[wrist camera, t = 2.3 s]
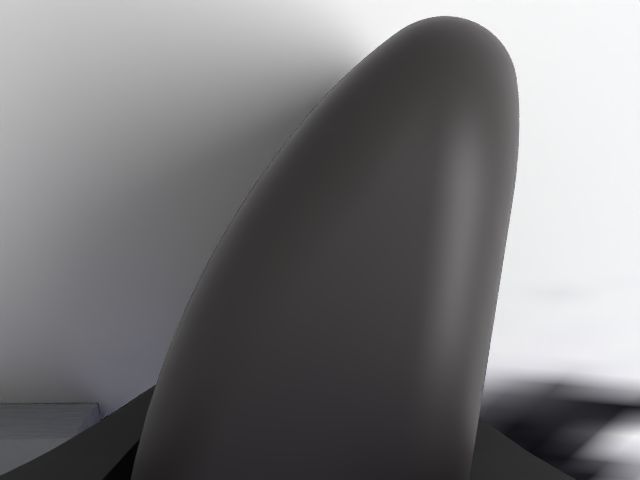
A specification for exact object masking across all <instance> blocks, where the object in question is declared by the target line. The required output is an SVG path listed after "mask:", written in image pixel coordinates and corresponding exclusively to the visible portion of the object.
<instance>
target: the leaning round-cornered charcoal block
mask: <svg viewBox="0 0 640 480" xmlns="http://www.w3.org/2000/svg"><path fill="white" fill-rule="evenodd" d="M518 146H519V98H518V87H517V78H516V73H515V69H514V65H513V63H512V60H511V58H510V56H509V54H508V52H507V50H506V49H505V47H504V46H503V44H502V43H501V42H500V41H499V40H498V39H497V37H496V36H494V35H493V34H492V33H491V32H490V31H489V30H487V29H486V28H484V27H483V26H481V25H479V24H477V23H475V22H472V21H470V20H467V19H463V18H459V17H451V16H440V17H432V18H427V19H423V20H420V21H417V22H415V23H413V24H410V25H408V26H407V27H405V28H403V29H402V30H400V31H399V32H397V33H396V34H394V35H393V36H392V37H390V38H389V39H388V40H386V41H385V42H384V43H383V44H381V45H380V46H379V47H378V48H376V49H375V50H374V51H373V52H371V53H370V54H369V55H368V56H367V57H366V58H364V59H363V60H362V61H361V62H360V63H359V64H358V65H357V66H355V67H354V68H353V69H352V70H351V71H350V72H349V73H348V74H347V75H346V76H345V77H344V78H343V79H342V80H341V81H340V82H339V83H338V84H337V85H336V86H335V87H334V88H333V89H332V90H331V91H330V92H329V93H328V94H327V95H326V96H325V97H324V98H323V99H322V100H321V101H320V102H319V103H318V105H317V106H316V107H315V108H314V109H313V110H312V111H311V112H310V114H309V115H308V116H307V117H306V118H305V119H304V120H303V122H302V123H301V124H300V125H299V127H298V128H297V129H296V130H295V131H294V133H293V134H292V135H291V136H290V138H289V139H288V140H287V141H286V143H285V144H284V145H283V147H282V148H281V149H280V151H279V152H278V153H277V155H276V156H275V157H274V159H273V160H272V161H271V163H270V164H269V166H268V167H267V168H266V170H265V171H264V172H263V174H262V175H261V176H260V178H259V179H258V181H257V182H256V184H255V185H254V187H253V188H252V190H251V192H250V193H249V195H248V196H247V198H246V199H245V201H244V202H243V204H242V205H241V207H240V208H239V210H238V212H237V213H236V215H235V216H234V218H233V219H232V221H231V223H230V225H229V226H228V228H227V230H226V232H225V233H224V235H223V237H222V239H221V240H220V242H219V244H218V246H217V247H216V249H215V251H214V253H213V254H212V256H211V258H210V260H209V262H208V264H207V266H206V268H205V270H204V272H203V274H202V276H201V278H200V280H199V282H198V284H197V286H196V288H195V290H194V292H193V294H192V296H191V298H190V300H189V302H188V304H187V306H186V309H185V311H184V314H183V316H182V318H181V321H180V323H179V326H178V328H177V330H176V333H175V335H174V337H173V340H172V342H171V345H170V347H169V349H168V352H167V355H166V357H165V360H164V363H163V366H162V369H161V372H160V375H159V378H158V381H157V384H156V387H155V390H154V393H153V396H152V399H151V402H150V405H149V408H148V411H147V415H146V419H145V423H144V427H143V431H142V435H141V438H140V442H139V446H138V450H137V454H136V458H135V462H134V466H133V471H132V476H131V480H469V478H470V471H471V465H472V458H473V452H474V446H475V439H476V433H477V426H478V420H479V413H480V407H481V401H482V394H483V388H484V381H485V375H486V368H487V362H488V356H489V349H490V343H491V336H492V330H493V323H494V317H495V311H496V304H497V298H498V291H499V285H500V278H501V272H502V266H503V259H504V253H505V246H506V240H507V233H508V227H509V221H510V214H511V208H512V201H513V195H514V188H515V180H516V171H517V160H518Z"/></svg>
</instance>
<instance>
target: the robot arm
mask: <svg viewBox="0 0 640 480" xmlns="http://www.w3.org/2000/svg"><path fill="white" fill-rule="evenodd" d="M155 387H156V385H155V386H153V387H151V388H150V389H148V390H147V391H145V392H144V393H142V394H141V395H139V396H138V397H136V398H135V399H133V400H132V401H130V402H129V403H127V404H126V405H124V406H123V407H121V408H120V409H118V410H117V411H115V412H114V413H112V414H110V415H109V416H107V417H106V418H104V419H103V420H101V421H99V422H98V423H96V424H94V425H93V426H91V427H89V428H88V429H86V430H84V431H83V432H81V433H79V434H78V435H76V436H74V437H73V438H71V439H69V440H68V441H66V442H64V443H63V444H61V445H59V446H58V447H56V448H54V449H52V450H50V451H48V452H47V453H45V454H43V455H41V456H39V457H37V458H35V459H33V460H31V461H29V462H27V463H25V464H23V465H21V466H19V467H17V468H15V469H13V470H11V471H9V472H7V473H5V474H3V475H1V476H0V480H131V476H132V471H133V466H134V462H135V458H136V454H137V450H138V446H139V442H140V438H141V435H142V431H143V427H144V423H145V419H146V415H147V411H148V408H149V405H150V402H151V399H152V396H153V393H154V390H155ZM469 480H576V479H574V478H572V477H570V476H568V475H567V474H565V473H563V472H561V471H560V470H558V469H556V468H555V467H553V466H551V465H549V464H548V463H546V462H544V461H542V460H541V459H539V458H537V457H536V456H534V455H533V454H531V453H529V452H528V451H526V450H525V449H523V448H522V447H520V446H519V445H517V444H516V443H515V442H513V441H512V440H510V439H509V438H508V437H506V436H505V435H503V434H502V433H500V432H499V431H498V430H496V429H495V428H494V427H492V426H491V425H490V424H488V423H487V422H486V421H484V420H483V419H482V418H481V417H479V420H478V426H477V433H476V439H475V446H474V452H473V458H472V465H471V471H470V478H469Z"/></svg>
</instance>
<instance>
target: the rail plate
mask: <svg viewBox="0 0 640 480" xmlns="http://www.w3.org/2000/svg"><path fill="white" fill-rule="evenodd" d="M99 421H100V415H99V407H98V403H66V404H0V476H1V475H3V474H5V473H7V472H9V471H11V470H13V469H15V468H17V467H19V466H21V465H23V464H25V463H27V462H29V461H31V460H33V459H35V458H37V457H39V456H41V455H43V454H45V453H47V452H48V451H50V450H52V449H54V448H56V447H58V446H59V445H61V444H63V443H64V442H66V441H68V440H69V439H71V438H73V437H74V436H76V435H78V434H79V433H81V432H83V431H84V430H86V429H88V428H89V427H91V426H93V425H94V424H96V423H98V422H99Z"/></svg>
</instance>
